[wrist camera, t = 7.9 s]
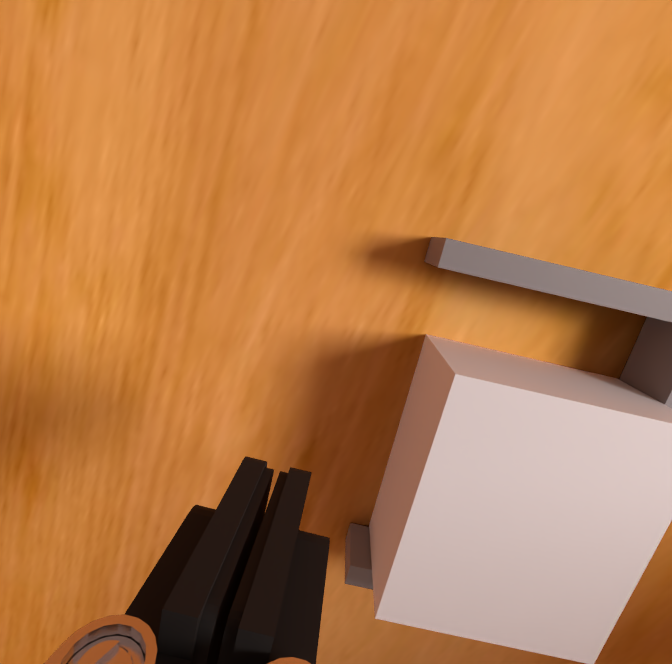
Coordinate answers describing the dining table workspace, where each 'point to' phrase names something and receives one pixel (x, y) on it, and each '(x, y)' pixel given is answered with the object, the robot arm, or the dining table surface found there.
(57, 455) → the dining table surface
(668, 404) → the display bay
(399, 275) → the dining table surface
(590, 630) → the carton
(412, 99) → the dining table surface
